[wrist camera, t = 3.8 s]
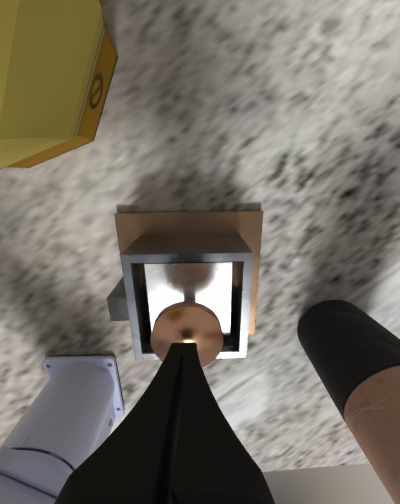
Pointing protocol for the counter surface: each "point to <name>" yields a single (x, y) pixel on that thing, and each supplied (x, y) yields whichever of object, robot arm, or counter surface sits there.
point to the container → (51, 77)
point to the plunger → (189, 306)
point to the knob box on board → (188, 250)
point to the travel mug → (359, 380)
